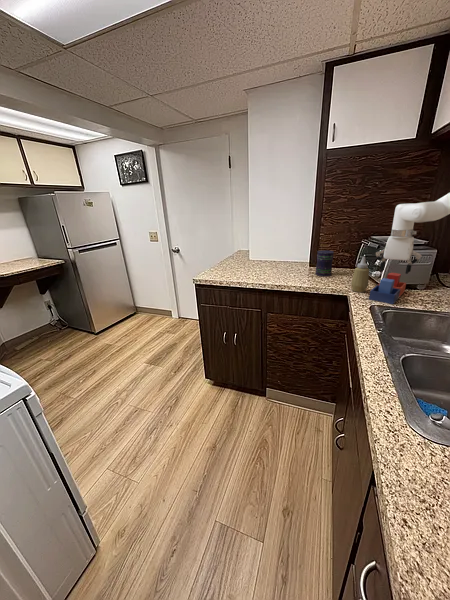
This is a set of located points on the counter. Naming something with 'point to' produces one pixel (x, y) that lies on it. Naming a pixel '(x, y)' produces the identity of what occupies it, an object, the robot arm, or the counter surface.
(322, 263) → the storage jar
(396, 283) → the red block
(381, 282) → the blue block
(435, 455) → the counter surface
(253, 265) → the counter surface
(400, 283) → the red bin
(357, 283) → the squeeze bottle
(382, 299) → the blue bin
